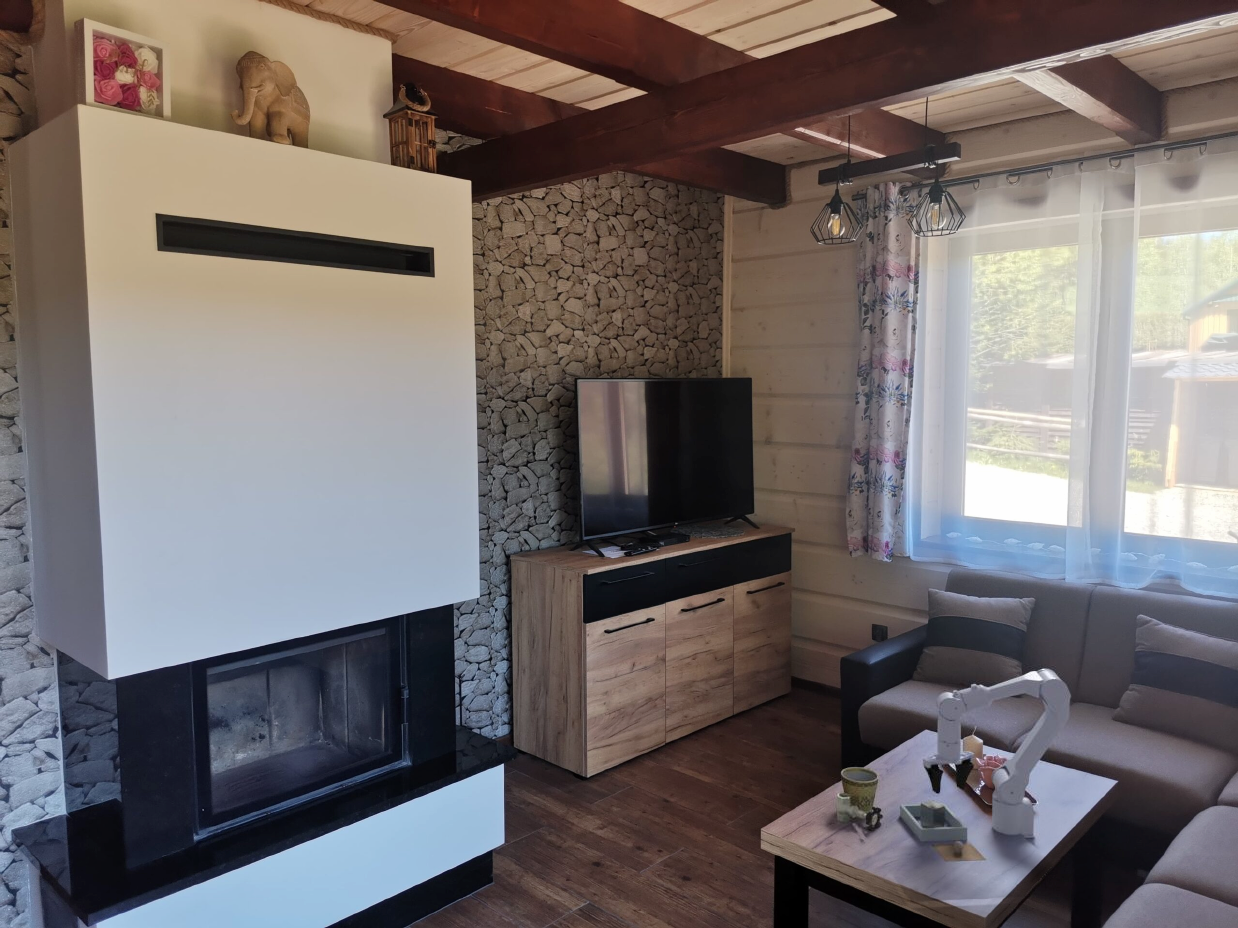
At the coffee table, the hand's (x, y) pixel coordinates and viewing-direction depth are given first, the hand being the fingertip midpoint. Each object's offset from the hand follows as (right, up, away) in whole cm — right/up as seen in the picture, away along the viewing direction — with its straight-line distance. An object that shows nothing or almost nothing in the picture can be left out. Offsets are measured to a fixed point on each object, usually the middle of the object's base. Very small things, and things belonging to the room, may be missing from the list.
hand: (948, 789), depth 229 cm
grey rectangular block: (-5, -10, -2) cm, 11 cm away
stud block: (-3, -11, -15) cm, 18 cm away
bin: (-5, -10, -2) cm, 11 cm away
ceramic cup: (-20, -10, +12) cm, 25 cm away
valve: (-24, -10, +3) cm, 26 cm away
